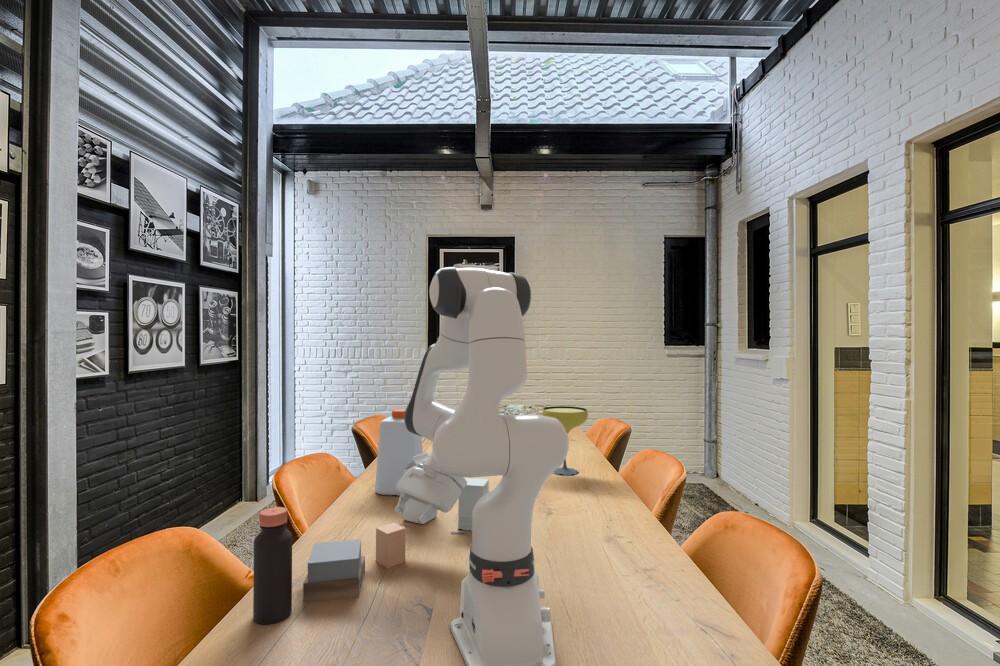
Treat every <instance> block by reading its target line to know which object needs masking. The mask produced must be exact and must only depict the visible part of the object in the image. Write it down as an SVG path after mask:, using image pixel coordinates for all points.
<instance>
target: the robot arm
mask: <svg viewBox="0 0 1000 666" xmlns="http://www.w3.org/2000/svg"><path fill="white" fill-rule="evenodd" d="M531 291H532V290H531V285H530V283H529V281H528V280H527V278H526V277H525V276H523V275H522V274H521V275H520V274H519V273H515V272H511V271H510V272H504V271H500V270H499V271H498V270H495V269H494V270H492V269H485V268H483V267H482V268H481V267H458V268H457V267H455V266H448V267H447V266H446V267H442V268H439V269H438V270H437V271H436V272H435V273H434V274H433V276H432V280H431V282H430V285H429V300H430V303H431V306H432V307H431V308H432V309H433V310H434V311H435V312H436V313H437V314H438V315H440V316H442V318H441V323H440V330H439V336H438V338H437V341H436V342H435V343H433V344H431V345H430V346H428V348H427V349H426V351H425V353H424V354H423V357H422V361H421V363H420V366H419V370H418V374H417V377H416V380H415V384H414V388H413V390H412V395H411V397H410V399H409V402H408V404H407V406H406V408H405V409H406V411H405V414H404V421H405V425H406V428H407V430H408V431H409V432H411V433H414V434H416V435H419V436H422V437H423V438H425V439H427V440H429V441H430V442H432V447H431V448H432V449H431V450H432V451H431V453H430V454H429V455H428V456H429V457H428V458H427V460H426V461H425V463H424V464H420V463H419V464H418V465H415V466H413V467H411V468H410V469H409V470H408V471H407V472H406V473H405V474H404V475H403V477H402V478H401V479H400V480H399V481H398V483H397V484H396V490H397V491H398V492H399V493H400V494H401V495H400V496H399V497H398V503H397V504H396V506H395V508H394V511H395V512H397V513H398V514H400V515H401V514H403V512H404V510H405V509H406V508H405V507H404V506H405V503H406V501H408V500H409V499H410V498H411V499H413V500H415V501H418V502H420V503H423V504H425V505H428V506H427V508H428V509H427V510H426V511H424V512H423V513H420V514H419V516H418V517H417V521H418V522H420V523H422V524H421V525H425V524H426V523H427V522H426V520H427V519H428V518H429V517H431V516H432V515H434V514H435V513H436V511H437V512H438V511H440V512H442V513H448V512H450V511H451V510H452V509H453V508H454V506H455V505H456V503H457V502H458V501H459V496H460V494H461V491H462V490H461V488H462V489H463V488H465V486H466V485H467V481H466V480H465V478H481V477H482V478H483V477H495V476H499V477H500V476H502V477H501V479H500V481H499V483H498V484H497V485H496V486H495V487H494V488H493V489H492V490H490V491H489V493H487V494H485V495H484V496H482V497H481V498H480V499H479V500H478V502H477V503H476V505H475V507H474V509H473V512H472V531H471V540H472V541H471V546H470V548H469V555H468V563H469V565H468V566H469V572H468V574H467V575H466V576H465V577H464V578H463V579H462V580H461V588H460V610H459V611H460V613H459V614H460V615H459V617H456V618H454V619H453V620H452V621H451V623H450V631H451V633H452V636H453V638H454V640H455V643H456V645H457V647H458V648H459V651H460V653H461V656H462V658H463V660H464V663H465V665H466V666H557V661H556V659H557V658H556V652H555V651H556V650H555V642H554V636H553V627H552V626H553V625H552V619H551V608H550V607H549V606H543V605H541V599H545V595H546V594H545V590H544V589H540V575H539V574H538V573H537V572H535V554H534V548H533V546H532V526H533V515H534V507H535V503H536V499H537V497H538V495H539V493H540V491H541V489H542V487H543V486H544V484H545V482H546V481H547V479H549V477H551V475H552V474H554V473H553V472H554V471H555V470H556V469H557V468H561V466H563V464H564V460H565V459H566V460H567V457H568V452H569V448H570V447H569V446H570V441H569V436H568V434H567V432H566V430H565V428H564V426H563V425H562V424H561V422H560V421H559V420H558V419H556V418H553V417H548V416H542V414H535V413H531V414H528V413H527V414H507V415H502V414H499V411H500V405H501V403H502V401H503V400H505V399H507V398H509V397H510V396H512V395H514V394H515V393H517V392H518V391H520V390H521V389H522V388H523V387H524V385H525V384H526V382H527V378H528V367H527V366H528V365H527V352H526V351H527V348H526V335H525V324H524V319H523V317H524V316H525V314H526V313H527V312H528V311H529V309H530V305H531V301H532V299H531V298H532V292H531ZM465 369H468V381H467V387H466V390H465V394H464V396H463V398H462V400H461V402H460V404H459V405H458V406H457V408H456V409H454V408H451V407H449V406H447V405H445V404H442V403H441V402H439V401H437V400H436V398H435V397H434V396H435V395H434V393H435V390H436V388H437V384H438V381H439V377H440V374H441V372H442V371H461V370H465ZM417 466H418V467H417ZM425 522H426V523H425ZM420 523H419V524H420Z"/></svg>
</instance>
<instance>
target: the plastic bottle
mask: <svg viewBox="0 0 1000 666" xmlns="http://www.w3.org/2000/svg"><path fill="white" fill-rule="evenodd" d="M405 411H406V408H401V409H400V408H399V409H393V410H392V411H391V416H389V417H386V418H383V420H381V421H380V422H379V433H378V434H379V435H378V446H377V447H378V448H377V460H376V470H375V471H376V473H375V474H376V475H375V487H374V488H375V489H374V490H375V493H377V494H378V495H380V494H381V495H382V496H392V495H397V497H398V496H399V497H400V495H401V494H400V493H399V492H398V491H397V490H396V484H397V483H398V481H399V480H400V479H401V478H402V477H403V475H404V468H406V467H407V466H408V465H409V464H410V463H411V462H412V461H413V457H414V456H417V455H420V454H423V453H424V451H423V438H422V437H423V436H419V435H416V434H414V433H411V432H409V431H408V430H407V428H406V425H405V421H404V414H405ZM381 495H380V496H381Z"/></svg>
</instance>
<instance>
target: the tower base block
mask: <svg viewBox="0 0 1000 666" xmlns="http://www.w3.org/2000/svg"><path fill="white" fill-rule="evenodd" d="M365 572H366V556H364V555H361V560H360V570H359V578H351V579H341V580H332V581H323V582H313V583H308V574H307V575H306V577H305V579H304V581H303V584H302V602H309V601H320V600H335V599H348V598H349V599H350V598H359V597H360V594H361V589H362V587H363V586H362V585H363V581H364V577H365Z"/></svg>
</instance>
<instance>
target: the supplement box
mask: <svg viewBox="0 0 1000 666" xmlns="http://www.w3.org/2000/svg"><path fill="white" fill-rule="evenodd" d="M464 479H465V480H466V481H467V485H466V486H465V488H463V489H462V488H461V490H462V491H461V494H460V496H459V498H458V508H457V509H458V510H457V511H458V517H457V518H458V520H457V523H458V524H457V525H458V527H457V530H459V529H462V531H469V530H472V512H473V509H474V507H475V505H476V503H477V502H478V500H479V499H480V498H481V497H482V496H484V495H485V494H487V493H489V492H490V491H489V487H490V486H489V485H490V483H489V482H490V481H489V480H490V479H487V478H474V477H470V478H469V477H464Z"/></svg>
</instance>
